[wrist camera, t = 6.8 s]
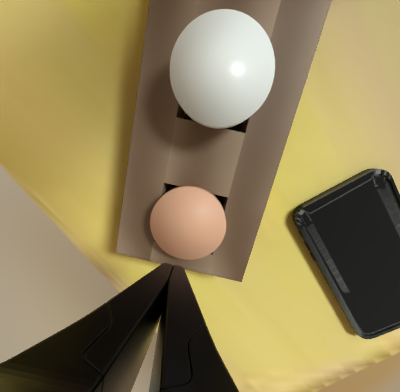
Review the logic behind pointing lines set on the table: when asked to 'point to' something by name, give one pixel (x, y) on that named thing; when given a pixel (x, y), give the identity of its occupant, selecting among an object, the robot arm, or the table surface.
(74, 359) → the robot arm
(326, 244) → the phone
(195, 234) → the knob
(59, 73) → the table surface
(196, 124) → the knob mount
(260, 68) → the middle knob
